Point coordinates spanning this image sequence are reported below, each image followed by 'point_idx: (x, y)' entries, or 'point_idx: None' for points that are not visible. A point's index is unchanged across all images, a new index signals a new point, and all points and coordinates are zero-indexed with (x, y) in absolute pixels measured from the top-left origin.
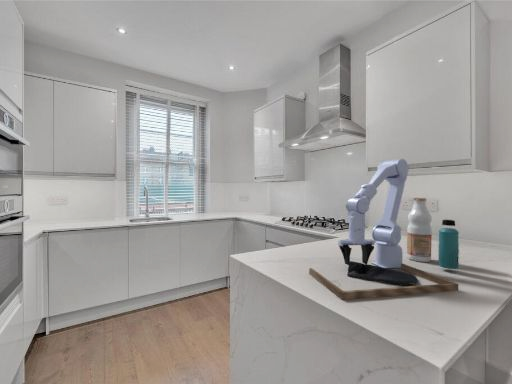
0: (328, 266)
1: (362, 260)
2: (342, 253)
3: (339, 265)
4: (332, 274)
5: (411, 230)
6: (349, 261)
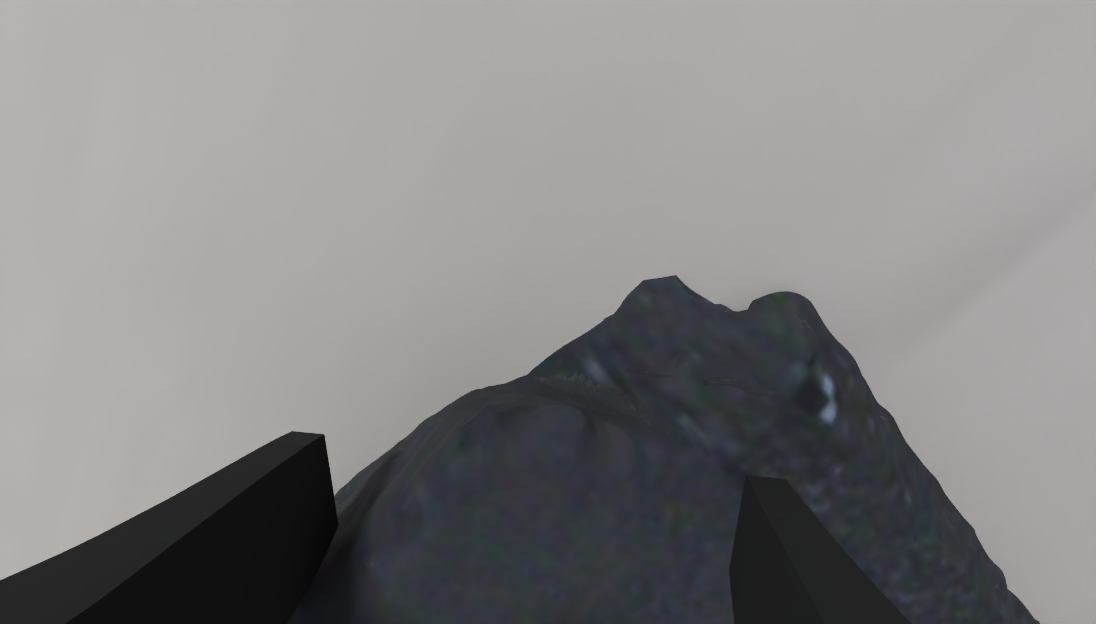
0: (107, 100)
1: (758, 505)
2: (31, 581)
3: (371, 70)
4: (93, 488)
5: None
6: (291, 603)
